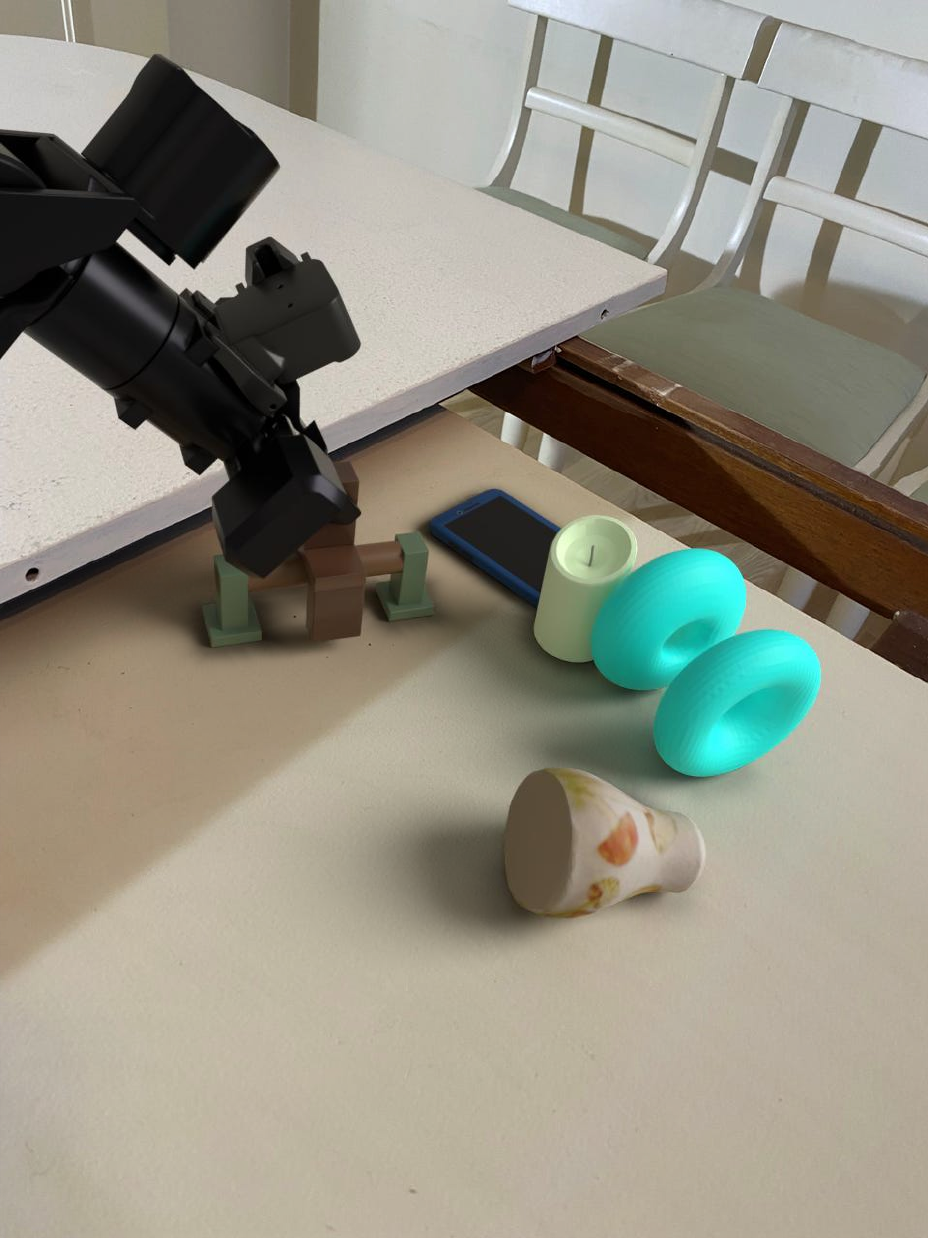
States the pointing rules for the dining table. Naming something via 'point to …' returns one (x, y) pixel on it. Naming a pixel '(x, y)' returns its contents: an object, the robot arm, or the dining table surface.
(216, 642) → the stand
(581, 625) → the candle
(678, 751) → the donuts
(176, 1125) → the dining table surface
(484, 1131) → the dining table surface
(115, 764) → the dining table surface
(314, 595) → the brown stepped block
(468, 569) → the dining table surface
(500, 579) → the cell phone
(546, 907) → the flowered bud vase
